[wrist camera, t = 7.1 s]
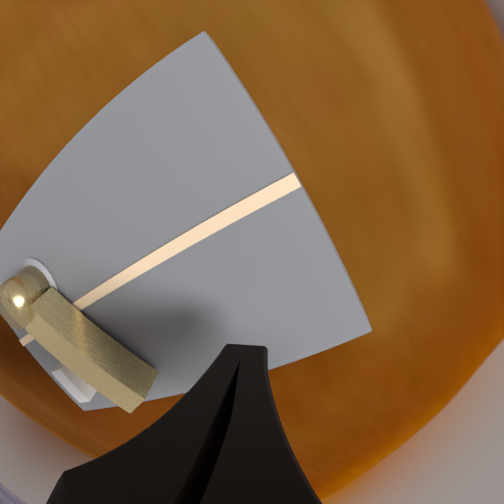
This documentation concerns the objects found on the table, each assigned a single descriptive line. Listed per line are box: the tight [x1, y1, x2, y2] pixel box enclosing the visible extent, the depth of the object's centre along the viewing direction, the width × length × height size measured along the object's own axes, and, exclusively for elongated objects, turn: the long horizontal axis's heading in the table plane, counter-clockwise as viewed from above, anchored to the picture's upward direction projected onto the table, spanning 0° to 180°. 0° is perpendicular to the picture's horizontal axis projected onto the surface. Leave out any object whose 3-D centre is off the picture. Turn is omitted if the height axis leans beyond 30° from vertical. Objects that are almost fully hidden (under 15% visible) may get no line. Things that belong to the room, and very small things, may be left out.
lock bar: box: [0, 266, 159, 413], centre depth 14 cm, size 11×3×3 cm, turn 52°
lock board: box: [0, 31, 372, 411], centre depth 15 cm, size 15×24×3 cm, turn 121°
